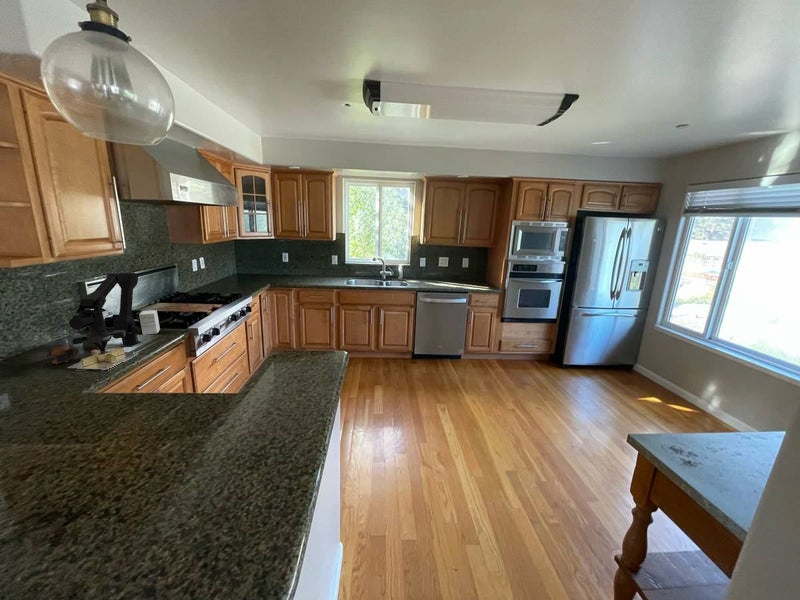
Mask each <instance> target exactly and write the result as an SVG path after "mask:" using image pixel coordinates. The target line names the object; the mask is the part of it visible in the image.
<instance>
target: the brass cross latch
mask: <svg viewBox="0 0 800 600" xmlns="http://www.w3.org/2000/svg"><path fill="white" fill-rule="evenodd" d="M124 352H125V349H124V346H120V347H117V348H113V349H110V350H105V351H100V350H98V349H96V348H95V349H92V350H90V353H91V356H88V357H87V356H86V357H84V358H80V361H81V363H82V366H86V365H89V364H93V363H96V362H102V361H107V362H110V363H113V362H116V357H115V356H118V355H121V354H124Z"/></svg>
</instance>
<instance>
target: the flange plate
mask: <svg viewBox="0 0 800 600" xmlns="http://www.w3.org/2000/svg"><path fill="white" fill-rule="evenodd" d="M138 355H139V352H137V351H136V352H135V351H133V352H131V351H124V354H121V355H118V356H115V357H116V362H113V363H110V362H107V361H102V362H96V363H93V364H89V365H86V366H82V363H81V360H80V361H79V362H78V361H77V363H74V364H72V365H70V366H68V367H66V369H67V368H77V369H109V368H112V367H114V366H116V365H118V364H120V363H122V362H124V363H126V362H128V360H131V359H133V358H135V357H136V356H138ZM122 364H123V363H122ZM120 365H121V364H120ZM118 366H119V365H118ZM116 367H117V366H116ZM114 368H115V367H114ZM112 369H113V368H112Z"/></svg>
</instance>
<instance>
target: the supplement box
mask: <svg viewBox="0 0 800 600" xmlns="http://www.w3.org/2000/svg"><path fill="white" fill-rule="evenodd" d="M138 315H139V322H140V326H141V327H140V329H141V332H142V335H143V336H145V335H154V334H158V333H159V331H160V330H161V328H160V321H159V315H158V310H157V309H156V310H155V309H152V310H143V311H141V312H140V313H139V314H138Z"/></svg>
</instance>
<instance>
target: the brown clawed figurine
mask: <svg viewBox="0 0 800 600" xmlns="http://www.w3.org/2000/svg"><path fill="white" fill-rule="evenodd" d="M79 353H80V350H79V348H77V347H70V346H69V345H61V346H56V347H52V348H50V349H48V350H47V353H46V358H48V357H54V358H55V359H53V360H51V363H52V364H53V363H59V362H65V361H69V360H70V361H71V360H72V359H74V358H75V357H77V355H78V354H79ZM65 363H66V362H65Z"/></svg>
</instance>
